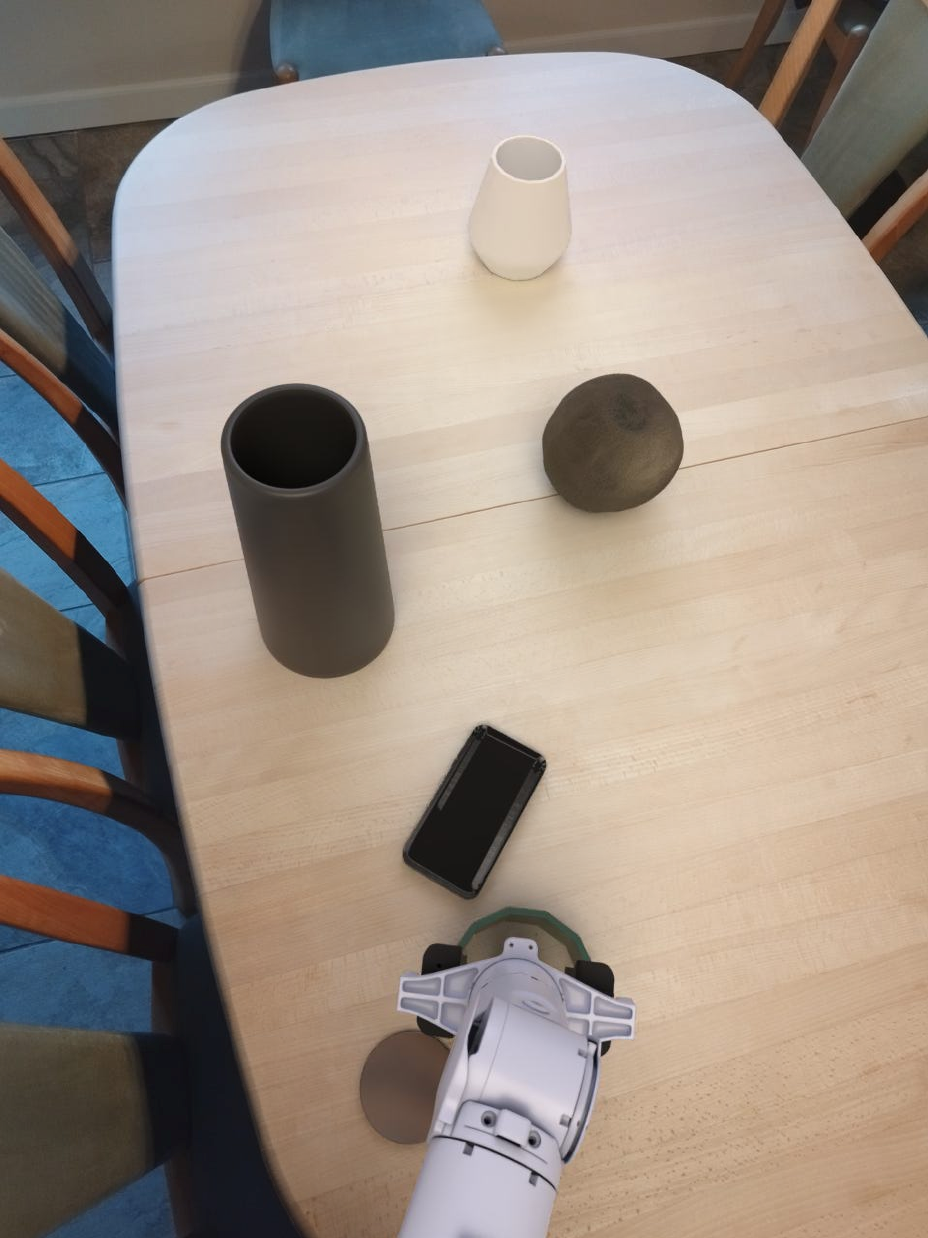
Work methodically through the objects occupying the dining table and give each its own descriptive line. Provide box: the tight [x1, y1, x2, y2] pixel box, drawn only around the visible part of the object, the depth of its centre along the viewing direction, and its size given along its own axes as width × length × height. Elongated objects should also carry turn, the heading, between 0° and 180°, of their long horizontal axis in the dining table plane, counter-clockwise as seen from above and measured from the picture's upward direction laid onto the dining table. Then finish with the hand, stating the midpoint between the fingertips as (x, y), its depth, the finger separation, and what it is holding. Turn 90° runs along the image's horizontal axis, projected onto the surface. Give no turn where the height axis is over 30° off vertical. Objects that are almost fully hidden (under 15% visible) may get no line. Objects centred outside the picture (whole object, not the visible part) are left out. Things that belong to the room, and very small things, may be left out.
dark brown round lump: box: [541, 372, 685, 514], centre depth 91 cm, size 14×14×15 cm
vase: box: [220, 382, 395, 679], centre depth 76 cm, size 14×14×29 cm
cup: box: [466, 134, 573, 282], centre depth 108 cm, size 13×13×14 cm
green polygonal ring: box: [454, 906, 592, 1037], centre depth 72 cm, size 12×12×4 cm
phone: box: [402, 724, 547, 901], centre depth 80 cm, size 8×1×15 cm
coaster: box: [359, 1030, 450, 1145], centre depth 70 cm, size 8×8×1 cm
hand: (514, 977), depth 62 cm, fingers open, 7 cm apart
